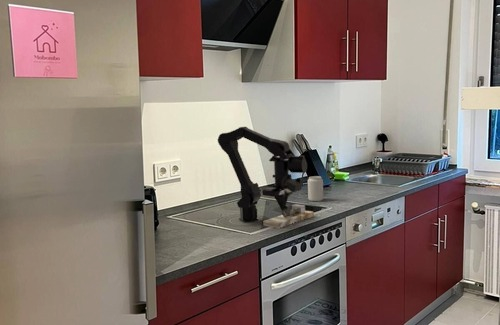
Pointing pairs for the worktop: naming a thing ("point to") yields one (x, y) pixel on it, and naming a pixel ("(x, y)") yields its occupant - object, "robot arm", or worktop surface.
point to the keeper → (301, 208)
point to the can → (315, 188)
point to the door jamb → (287, 219)
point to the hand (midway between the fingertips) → (282, 209)
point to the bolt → (289, 211)
